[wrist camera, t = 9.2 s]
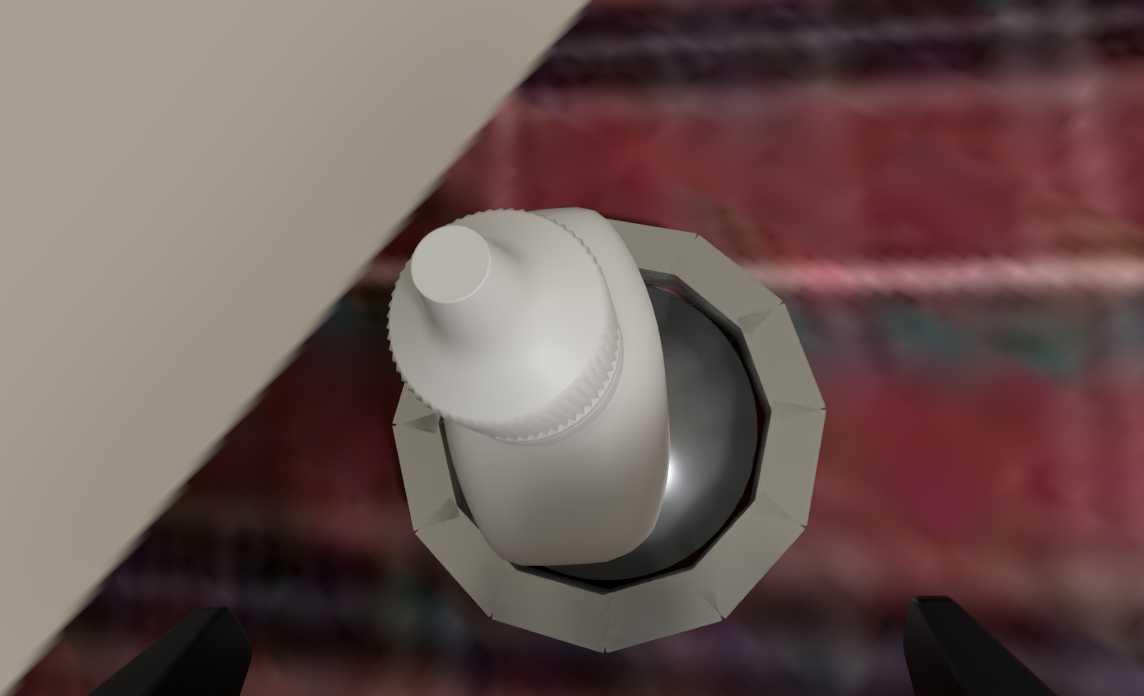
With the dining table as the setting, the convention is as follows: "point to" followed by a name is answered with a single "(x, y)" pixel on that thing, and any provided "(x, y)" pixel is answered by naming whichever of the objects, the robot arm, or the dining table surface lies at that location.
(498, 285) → the eye dropper bottle
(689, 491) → the collar
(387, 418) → the dining table surface
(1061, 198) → the dining table surface
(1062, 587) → the dining table surface
